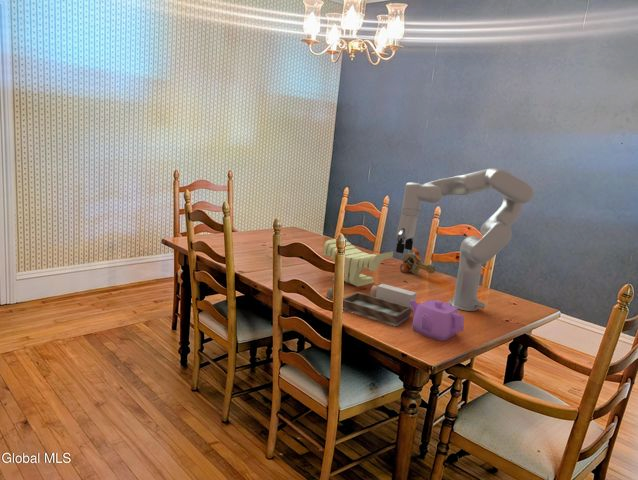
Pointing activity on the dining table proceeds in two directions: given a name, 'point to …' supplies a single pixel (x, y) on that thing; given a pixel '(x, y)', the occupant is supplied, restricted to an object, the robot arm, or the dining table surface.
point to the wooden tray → (376, 308)
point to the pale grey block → (393, 294)
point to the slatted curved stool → (356, 262)
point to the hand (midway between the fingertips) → (403, 250)
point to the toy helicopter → (415, 263)
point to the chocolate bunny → (330, 291)
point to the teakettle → (436, 319)
